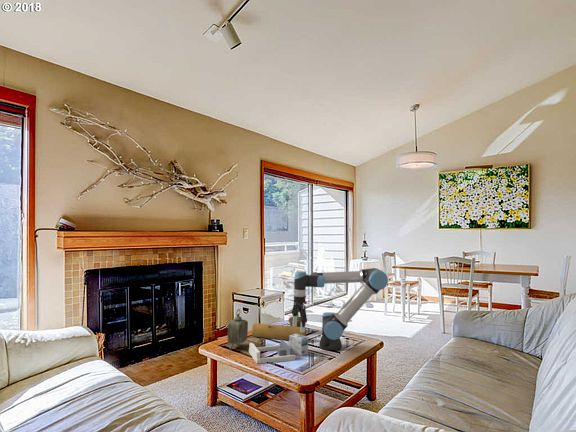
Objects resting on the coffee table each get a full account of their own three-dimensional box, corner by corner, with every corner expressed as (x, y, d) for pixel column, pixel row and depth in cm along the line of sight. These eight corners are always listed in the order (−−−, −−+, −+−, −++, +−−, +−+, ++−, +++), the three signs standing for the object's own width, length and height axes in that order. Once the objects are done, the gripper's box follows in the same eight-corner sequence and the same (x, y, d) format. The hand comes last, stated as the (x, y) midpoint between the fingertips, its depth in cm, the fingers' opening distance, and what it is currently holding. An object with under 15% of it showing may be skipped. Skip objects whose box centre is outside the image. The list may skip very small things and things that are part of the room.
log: (306, 339, 255) (306, 325, 256) (304, 343, 246) (304, 328, 246) (255, 334, 264) (256, 320, 264) (251, 338, 254) (252, 324, 255)
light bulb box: (308, 353, 224) (308, 336, 225) (301, 356, 219) (301, 338, 220) (295, 349, 232) (296, 333, 232) (288, 352, 227) (289, 335, 227)
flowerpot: (300, 336, 260) (301, 295, 262) (284, 332, 268) (285, 293, 269) (310, 332, 272) (311, 292, 274) (294, 328, 280) (295, 290, 281)
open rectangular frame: (284, 348, 233) (284, 339, 233) (295, 359, 214) (295, 349, 214) (248, 351, 225) (249, 342, 225) (257, 363, 206) (257, 353, 206)
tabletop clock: (235, 343, 240) (236, 306, 241) (247, 344, 238) (248, 307, 239) (227, 350, 226) (228, 311, 227) (240, 352, 224) (241, 312, 225)
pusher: (282, 349, 231) (282, 339, 231) (291, 358, 215) (291, 348, 215) (273, 349, 229) (274, 340, 229) (282, 359, 213) (283, 349, 213)
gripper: (287, 292, 237) (286, 324, 236) (301, 299, 214) (300, 335, 213) (297, 292, 240) (296, 323, 239) (313, 299, 216) (311, 334, 216)
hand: (298, 329), depth 226 cm, fingers open, 13 cm apart
